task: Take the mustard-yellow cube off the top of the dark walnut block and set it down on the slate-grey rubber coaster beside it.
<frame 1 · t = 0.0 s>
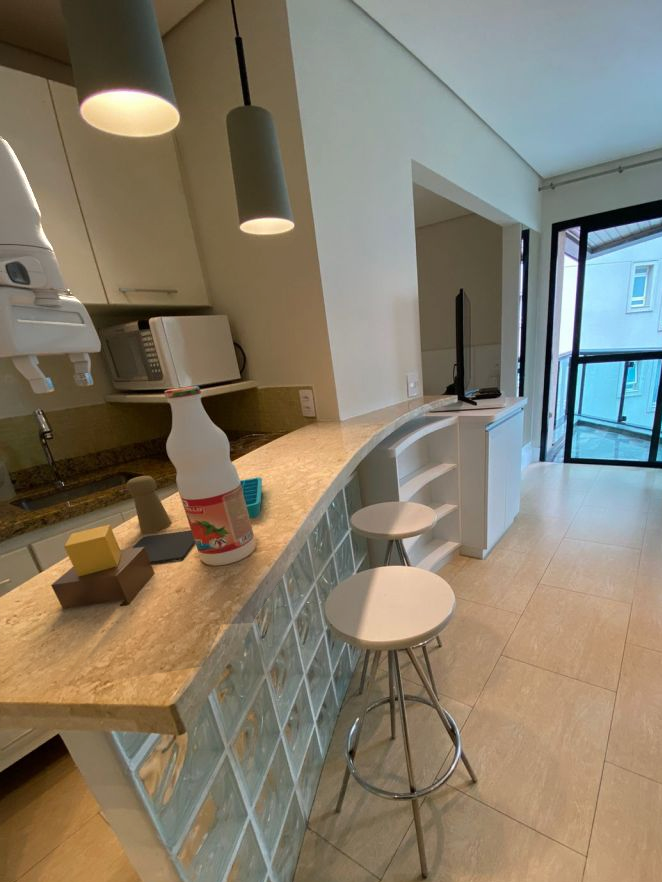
hand: (67, 389, 58), 30 cm above the counter, tool pointing down, fingers open, 8 cm apart
mustard cube: (100, 564, 61), point 5 cm above the counter, touching walnut block
cork: (156, 527, 87), on the counter
walnut block: (113, 592, 63), on the counter, touching mustard cube
fruit juice: (229, 554, 72), on the counter
ice cube tray: (238, 506, 93), on the counter
coaster: (162, 548, 76), on the counter
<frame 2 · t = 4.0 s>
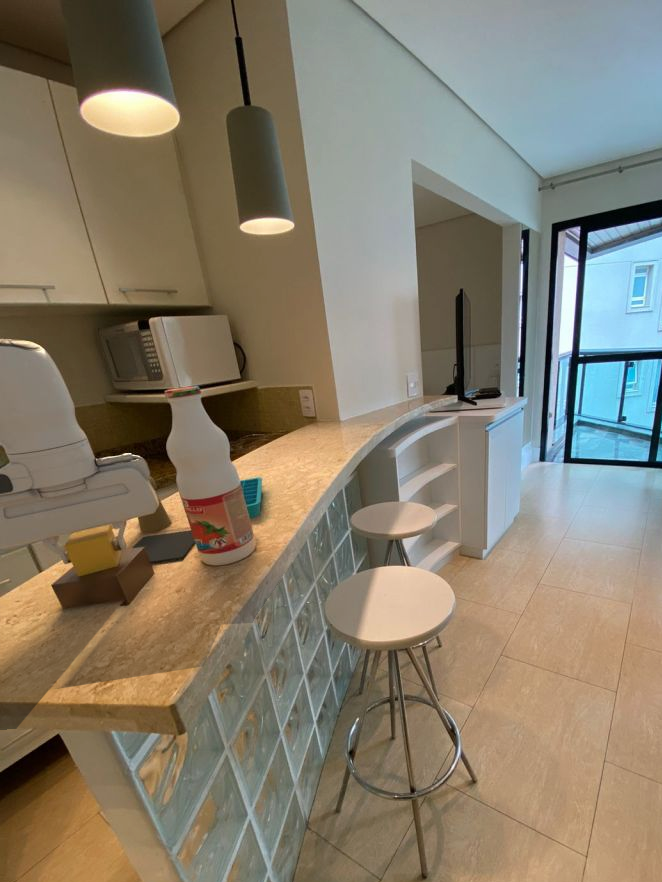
hand: (96, 555, 61), 7 cm above the counter, tool pointing down, fingers closed on mustard cube, 5 cm apart
mustard cube: (101, 564, 61), point 5 cm above the counter, touching gripper, walnut block
everything else where it was.
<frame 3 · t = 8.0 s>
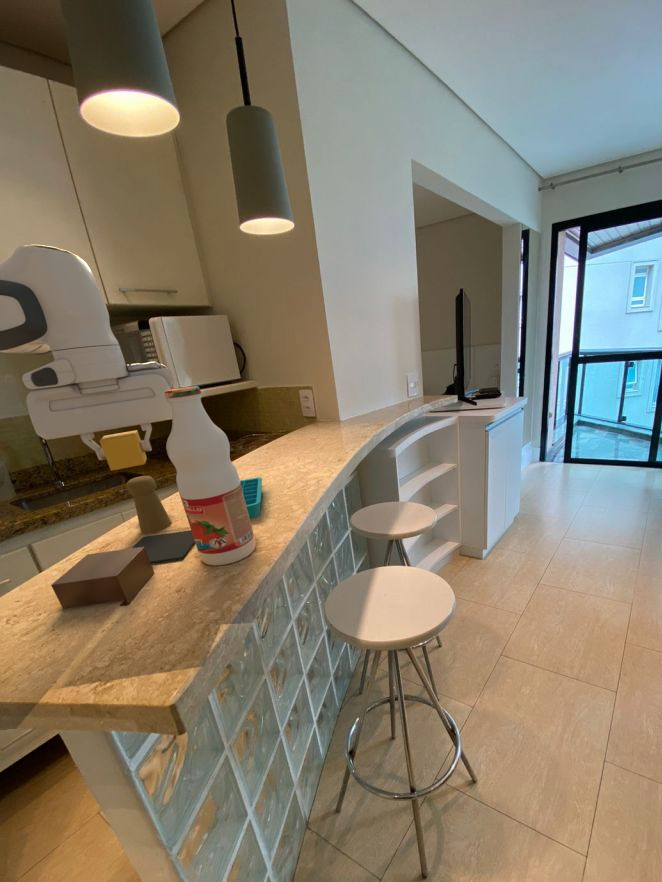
hand: (126, 454, 69), 18 cm above the counter, tool pointing down, fingers closed on mustard cube, 5 cm apart
mustard cube: (129, 464, 69), point 17 cm above the counter, touching gripper
walnut block: (113, 592, 63), on the counter
everything else where it was.
when the fingers open (2 cm above the counter, at t = 11.9 s): mustard cube stays where it is, resting on coaster.
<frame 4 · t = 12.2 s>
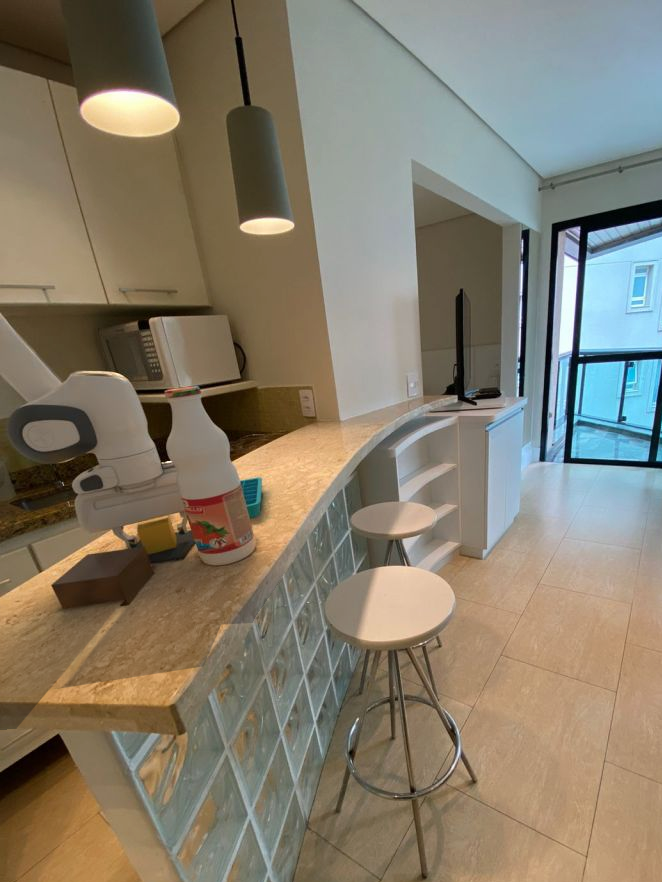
hand: (159, 539, 76), 2 cm above the counter, tool pointing down, fingers open, 7 cm apart
mustard cube: (162, 546, 76), resting on coaster
everything else where it was.
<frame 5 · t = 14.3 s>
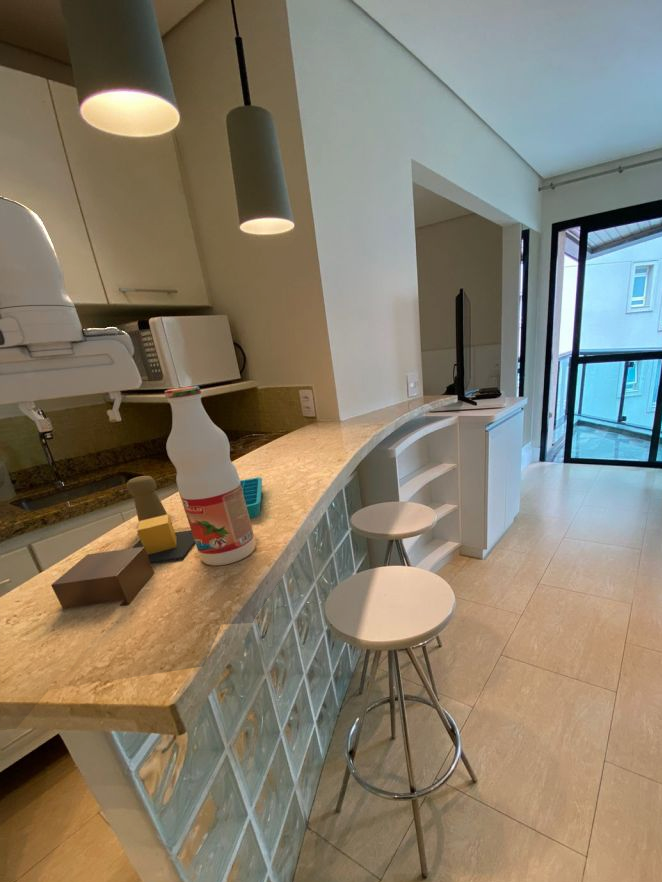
hand: (82, 425, 65), 24 cm above the counter, tool pointing down, fingers open, 8 cm apart
nothing on the counter moved.
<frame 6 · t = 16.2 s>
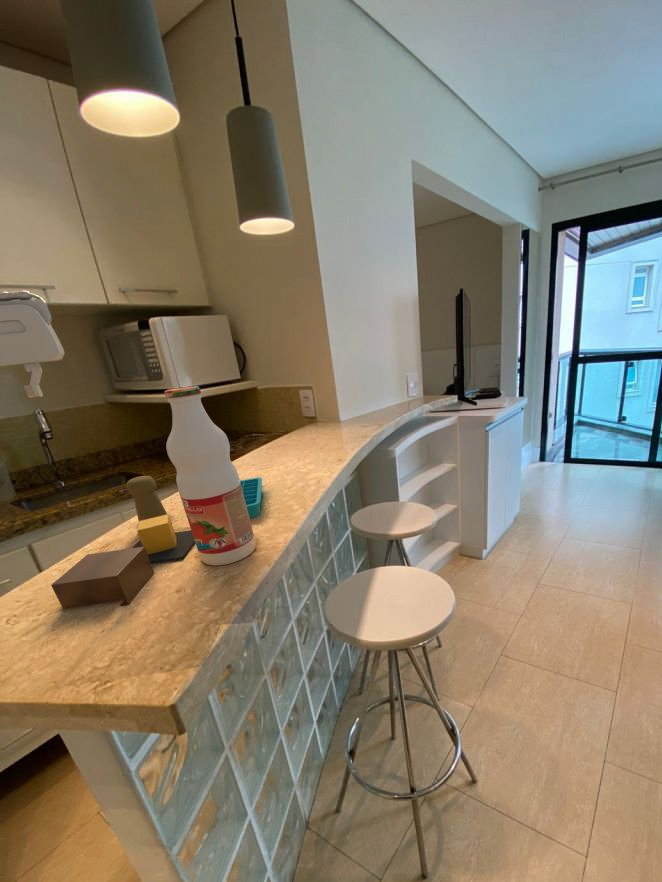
nothing on the counter moved.
at the end: mustard cube inside the target area on the coaster (0.1 cm from its centre), point 0.5 cm above the coaster's base; mustard cube touching coaster; walnut block moved 0.0 cm from its start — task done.
